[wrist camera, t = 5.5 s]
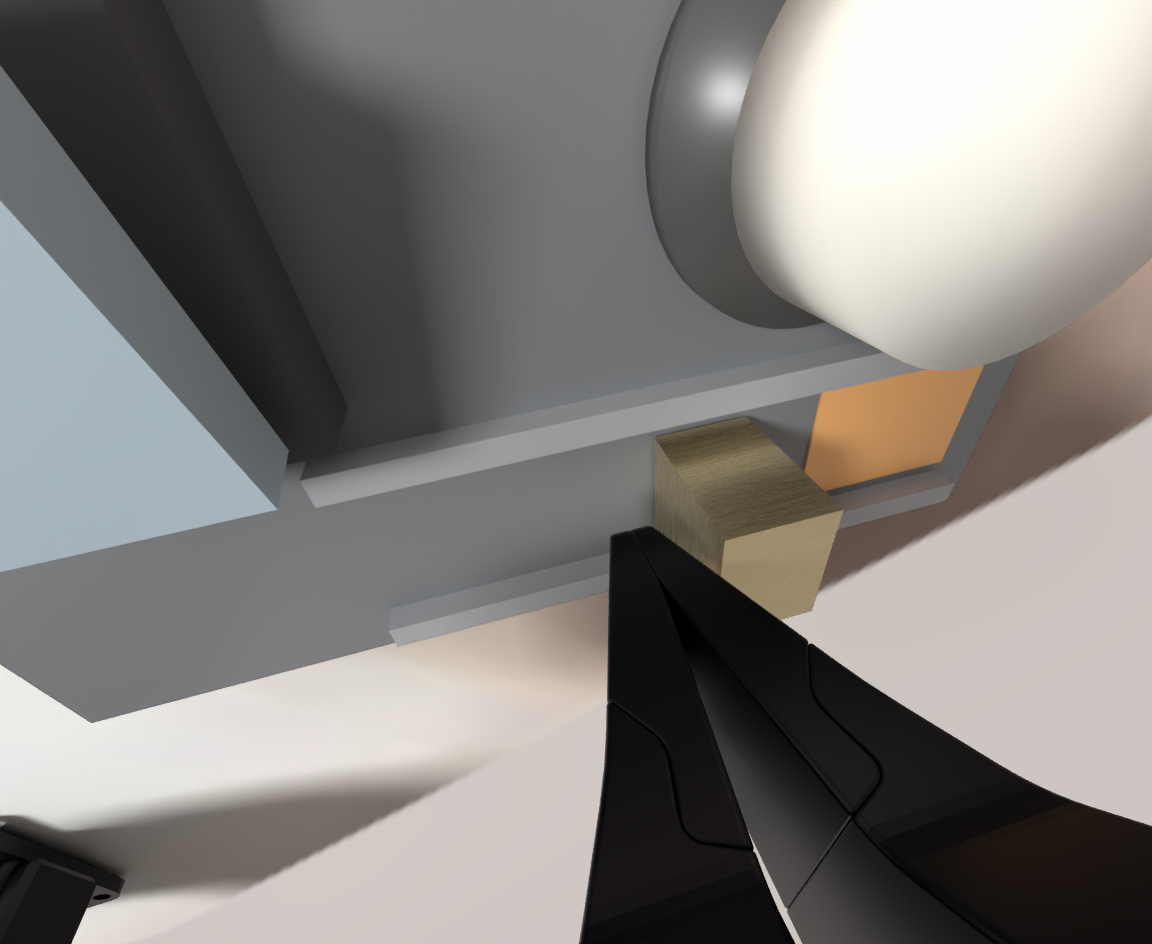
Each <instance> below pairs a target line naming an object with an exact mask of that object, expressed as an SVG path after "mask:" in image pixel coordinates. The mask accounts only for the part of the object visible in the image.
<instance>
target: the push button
mask: <svg viewBox="0 0 1152 944" xmlns="http://www.w3.org/2000/svg"><path fill="white" fill-rule="evenodd" d="M731 192H732V204H733V214H734V219H735V224H736V228H737V233H738V237H739V239H740V242H741V245H742V248H743V251H744V253H745V255H746V257H747V259H748V261H749V263H750V265H751V267H752V268H753V270H754V272H755V273H756V274H757V275H758V277H759V278H760V279H761V281H762V282H763V283H764V284H765V285H766V286H767V287H768V288H769V289H770V290H772V291H773V292H774V293H775V294H776V295H778V296H779V297H781V298H783V299H784V300H786V301H788V302H789V303H791V304H793V305H795V306H797V307H799V308H801V309H803V310H805V311H806V312H808V313H810V314H812V315H814V316H816V317H818V318H820V319H822V320H824V321H826V322H827V323H829V324H831V325H833V326H835V327H837V328H839V329H841V330H843V331H845V332H846V333H848V334H850V335H852V336H854V337H856V338H858V339H860V340H862V341H864V342H866V343H867V344H869V345H871V346H873V347H875V348H877V349H879V350H881V351H883V352H885V353H886V354H888V355H890V356H892V357H894V358H896V359H898V360H900V361H902V362H904V363H907V364H910V365H913V366H915V367H918V368H923V369H930V370H937V371H939V370H960V369H966V368H973V367H978V366H982V365H985V364H988V363H992V362H995V361H999V360H1001V359H1004V358H1006V357H1009V356H1011V355H1014V354H1016V353H1019V352H1021V351H1023V350H1025V349H1027V348H1029V347H1031V346H1033V345H1035V344H1037V343H1039V342H1041V341H1043V340H1045V339H1046V338H1048V337H1050V336H1051V335H1053V334H1055V333H1056V332H1058V331H1060V330H1061V329H1063V328H1065V327H1066V326H1068V325H1069V324H1071V323H1072V322H1074V321H1075V320H1077V319H1078V318H1079V317H1081V316H1082V315H1084V314H1085V313H1086V312H1088V311H1089V310H1091V309H1092V308H1094V307H1095V306H1096V305H1097V304H1099V303H1100V302H1101V301H1102V300H1104V299H1105V298H1106V297H1107V296H1109V295H1110V294H1111V293H1112V292H1114V291H1115V290H1116V289H1117V288H1119V287H1120V286H1121V285H1122V284H1123V283H1124V282H1125V281H1126V280H1127V279H1129V278H1130V277H1131V276H1132V275H1133V274H1134V273H1135V272H1136V271H1138V270H1139V269H1140V268H1141V267H1142V266H1143V265H1144V264H1145V263H1146V262H1147V261H1148V260H1149V259H1150V258H1151V257H1152V0H787V1H786V2H785V4H784V5H783V7H782V9H781V11H780V13H779V15H778V17H777V18H776V20H775V22H774V24H773V26H772V28H771V30H770V32H769V34H768V35H767V37H766V40H765V42H764V44H763V47H762V49H761V52H760V54H759V56H758V59H757V61H756V63H755V66H754V68H753V71H752V74H751V77H750V80H749V83H748V86H747V89H746V93H745V96H744V99H743V102H742V106H741V111H740V115H739V120H738V124H737V129H736V133H735V141H734V149H733V157H732V177H731Z"/></svg>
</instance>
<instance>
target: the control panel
mask: <svg viewBox="0 0 1152 944" xmlns="http://www.w3.org/2000/svg"><path fill="white" fill-rule="evenodd" d="M786 1H787V0H0V66H1V67H2V68H3V70H4V71H5V72H6V74H7V75H8V76H9V78H10V79H11V80H12V82H13V83H14V84H15V86H16V87H17V88H18V90H19V91H20V92H21V94H22V95H23V96H24V98H25V99H26V100H27V102H28V103H29V104H30V106H31V107H32V108H33V110H34V111H35V112H36V114H37V115H38V116H39V118H40V119H41V120H42V122H43V123H44V124H45V126H46V127H47V128H48V130H49V131H50V132H51V134H52V135H53V136H54V138H55V139H56V140H57V142H58V143H59V144H60V146H61V147H62V148H63V150H64V151H65V152H66V154H67V155H68V156H69V158H70V159H71V161H72V162H73V163H74V165H75V166H76V167H77V169H78V170H79V171H80V173H81V174H82V175H83V177H84V178H85V179H86V181H87V182H88V183H89V185H90V186H91V187H92V189H93V190H94V191H95V193H96V194H97V195H98V197H99V198H100V199H101V201H102V202H103V203H104V205H105V206H106V207H107V209H108V210H109V211H110V213H111V214H112V215H113V217H114V218H115V219H116V221H117V222H118V223H119V225H120V226H121V227H122V229H123V230H124V231H125V233H126V234H127V235H128V237H129V238H130V239H131V241H132V242H133V243H134V245H135V246H136V247H137V249H138V250H139V251H140V253H141V254H142V255H143V257H144V258H145V259H146V261H147V262H148V263H149V265H150V266H151V267H152V269H153V270H154V271H155V273H156V274H157V275H158V277H159V278H160V279H161V281H162V282H163V283H164V285H165V286H166V287H167V289H168V290H169V291H170V293H171V294H172V295H173V297H174V298H175V299H176V301H177V302H178V303H179V305H180V306H181V307H182V309H183V310H184V311H185V313H186V314H187V315H188V317H189V318H190V319H191V321H192V322H193V323H194V325H195V326H196V327H197V329H198V330H199V331H200V333H201V334H202V335H203V337H204V338H205V339H206V341H207V342H208V343H209V345H210V346H211V347H212V349H213V350H214V351H215V353H216V354H217V355H218V357H219V358H220V359H221V361H222V362H223V363H224V365H225V366H226V367H227V369H228V370H229V371H230V373H231V374H232V375H233V377H234V378H235V379H236V381H237V382H238V383H239V385H240V386H241V387H242V389H243V390H244V391H245V393H246V394H247V395H248V397H249V398H250V399H251V401H252V402H253V403H254V405H255V406H256V407H257V409H258V410H259V411H260V413H261V414H262V415H263V417H264V418H265V419H266V421H267V422H268V423H269V425H270V426H271V427H272V429H273V430H274V432H275V433H276V434H277V436H278V437H279V438H280V440H281V441H282V442H283V444H284V445H285V446H286V448H287V449H288V450H289V452H288V457H287V463H286V468H285V473H284V479H283V484H282V489H281V495H280V500H279V505H278V510H274V511H269V512H265V513H260V514H256V515H251V516H247V517H242V518H238V519H234V520H229V521H225V522H220V523H216V524H211V525H207V526H203V527H198V528H194V529H189V530H185V531H180V532H176V533H171V534H167V535H163V536H158V537H154V538H149V539H145V540H140V541H136V542H132V543H127V544H123V545H118V546H114V547H109V548H105V549H101V550H96V551H92V552H87V553H83V554H78V555H74V556H69V557H65V558H61V559H56V560H52V561H47V562H43V563H38V564H34V565H30V566H25V567H21V568H16V569H12V570H7V571H3V572H0V664H1V665H2V666H4V667H5V668H7V669H8V670H10V671H11V672H13V673H14V674H16V675H18V676H19V677H21V678H22V679H24V680H25V681H27V682H28V683H30V684H32V685H33V686H35V687H36V688H38V689H39V690H41V691H42V692H44V693H46V694H47V695H49V696H50V697H52V698H53V699H55V700H56V701H58V702H59V703H61V704H63V705H64V706H66V707H67V708H69V709H70V710H72V711H73V712H75V713H77V714H78V715H80V716H81V717H83V718H84V719H86V720H87V721H89V722H90V723H93V722H97V721H101V720H105V719H109V718H112V717H116V716H120V715H124V714H127V713H131V712H135V711H139V710H143V709H146V708H150V707H154V706H158V705H161V704H165V703H169V702H173V701H177V700H180V699H184V698H188V697H192V696H195V695H199V694H203V693H207V692H211V691H214V690H218V689H222V688H226V687H229V686H233V685H237V684H241V683H245V682H248V681H252V680H256V679H260V678H263V677H267V676H271V675H275V674H279V673H282V672H286V671H290V670H294V669H297V668H301V667H305V666H309V665H313V664H316V663H320V662H324V661H328V660H331V659H335V658H339V657H343V656H347V655H350V654H354V653H358V652H362V651H365V650H369V649H373V648H377V647H381V646H384V645H388V644H392V643H396V645H397V646H398V647H399V646H403V645H407V644H410V643H414V642H418V641H422V640H425V639H429V638H433V637H437V636H440V635H444V634H448V633H452V632H455V631H459V630H463V629H467V628H471V627H474V626H478V625H482V624H486V623H489V622H493V621H497V620H501V619H504V618H508V617H512V616H516V615H519V614H523V613H527V612H531V611H534V610H538V609H542V608H546V607H550V606H553V605H557V604H561V603H565V602H568V601H572V600H576V599H580V598H583V597H587V596H591V595H595V594H598V593H602V592H606V591H609V559H610V536H611V535H613V534H616V533H620V532H624V531H631V530H632V529H636V528H640V527H644V526H652V527H654V528H655V502H654V437H657V436H662V435H666V434H671V433H675V432H679V431H684V430H688V429H692V428H697V427H701V426H706V425H710V424H714V423H719V422H723V421H727V420H732V419H736V418H740V417H745V416H747V417H748V418H749V419H750V420H751V421H752V422H753V423H754V424H755V425H756V426H757V427H758V428H759V429H760V430H761V431H762V432H763V433H764V434H765V435H766V436H767V437H768V438H770V439H771V440H772V441H773V442H774V443H775V444H776V445H777V446H778V447H779V448H780V449H781V450H782V451H783V452H784V453H785V454H786V455H787V456H788V457H789V458H790V459H791V460H792V461H793V462H794V463H796V464H797V465H798V466H799V467H800V468H801V469H802V470H803V471H804V472H805V473H806V474H807V475H808V476H809V477H810V478H811V479H812V480H813V481H814V482H815V483H816V484H817V485H818V486H819V487H821V488H822V489H823V490H824V491H825V492H826V493H827V494H828V495H829V496H830V497H831V498H832V499H833V500H834V501H835V502H836V503H837V504H838V505H839V506H840V507H841V508H842V509H843V514H842V517H841V520H840V523H839V526H838V529H837V530H839V529H843V528H847V527H850V526H854V525H858V524H862V523H865V522H869V521H873V520H877V519H880V518H884V517H888V516H892V515H895V514H899V513H903V512H907V511H911V510H914V509H918V508H922V507H926V506H929V505H933V504H937V503H941V502H944V501H946V500H947V498H948V496H951V495H952V494H953V492H954V490H955V488H956V485H957V483H958V481H959V479H960V477H961V475H962V473H963V471H964V469H965V467H966V465H967V463H968V461H969V459H970V457H971V455H972V453H973V451H974V449H975V447H976V445H977V443H978V441H979V439H980V437H981V434H982V432H983V430H984V428H985V426H986V424H987V422H988V420H989V418H990V416H991V414H992V412H993V410H994V408H995V406H996V404H997V402H998V400H999V398H1000V396H1001V394H1002V392H1003V390H1004V388H1005V386H1006V384H1007V381H1008V379H1009V377H1010V375H1011V373H1012V371H1013V369H1014V367H1015V365H1016V363H1017V361H1018V359H1019V357H1020V355H1021V353H1022V351H1021V352H1019V353H1016V354H1014V355H1011V356H1009V357H1006V358H1004V359H1001V360H999V361H995V362H992V363H988V364H985V365H982V366H978V367H973V368H966V369H960V370H939V371H937V370H930V369H923V368H918V367H915V366H913V365H910V364H907V363H904V362H902V361H900V360H898V359H896V358H894V357H892V356H890V355H888V354H886V353H885V352H883V351H881V350H879V349H877V348H875V347H873V346H871V345H869V344H867V343H866V342H864V341H862V340H860V339H858V338H856V337H854V336H852V335H850V334H848V333H846V332H845V331H843V330H841V329H839V328H837V327H835V326H833V325H831V324H829V323H827V322H826V321H824V320H822V319H820V318H818V317H816V316H814V315H812V314H810V313H808V312H806V311H805V310H803V309H801V308H799V307H797V306H795V305H793V304H791V303H789V302H788V301H786V300H784V299H783V298H781V297H779V296H778V295H776V294H775V293H774V292H773V291H772V290H770V289H769V288H768V287H767V286H766V285H765V284H764V283H763V282H762V281H761V279H760V278H759V277H758V275H757V274H756V273H755V272H754V270H753V268H752V267H751V265H750V263H749V261H748V259H747V257H746V255H745V253H744V251H743V248H742V245H741V242H740V239H739V237H738V233H737V228H736V224H735V219H734V214H733V204H732V192H731V177H732V157H733V149H734V141H735V133H736V129H737V124H738V120H739V115H740V111H741V106H742V102H743V99H744V96H745V93H746V89H747V86H748V83H749V80H750V77H751V74H752V71H753V68H754V66H755V63H756V61H757V59H758V56H759V54H760V52H761V49H762V47H763V44H764V42H765V40H766V37H767V35H768V34H769V32H770V30H771V28H772V26H773V24H774V22H775V20H776V18H777V17H778V15H779V13H780V11H781V9H782V7H783V5H784V4H785V2H786Z"/></svg>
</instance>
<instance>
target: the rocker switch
mask: <svg viewBox="0 0 1152 944" xmlns="http://www.w3.org/2000/svg"><path fill="white" fill-rule="evenodd" d="M288 452H289V450H288V449H287V448H286V446H285V445H284V444H283V442H282V441H281V440H280V438H279V437H278V436H277V434H276V433H275V432H274V430H273V429H272V427H271V426H270V425H269V423H268V422H267V421H266V419H265V418H264V417H263V415H262V414H261V413H260V411H259V410H258V409H257V407H256V406H255V405H254V403H253V402H252V401H251V399H250V398H249V397H248V395H247V394H246V393H245V391H244V390H243V389H242V387H241V386H240V385H239V383H238V382H237V381H236V379H235V378H234V377H233V375H232V374H231V373H230V371H229V370H228V369H227V367H226V366H225V365H224V363H223V362H222V361H221V359H220V358H219V357H218V355H217V354H216V353H215V351H214V350H213V349H212V347H211V346H210V345H209V343H208V342H207V341H206V339H205V338H204V337H203V335H202V334H201V333H200V331H199V330H198V329H197V327H196V326H195V325H194V323H193V322H192V321H191V319H190V318H189V317H188V315H187V314H186V313H185V311H184V310H183V309H182V307H181V306H180V305H179V303H178V302H177V301H176V299H175V298H174V297H173V295H172V294H171V293H170V291H169V290H168V289H167V287H166V286H165V285H164V283H163V282H162V281H161V279H160V278H159V277H158V275H157V274H156V273H155V271H154V270H153V269H152V267H151V266H150V265H149V263H148V262H147V261H146V259H145V258H144V257H143V255H142V254H141V253H140V251H139V250H138V249H137V247H136V246H135V245H134V243H133V242H132V241H131V239H130V238H129V237H128V235H127V234H126V233H125V231H124V230H123V229H122V227H121V226H120V225H119V223H118V222H117V221H116V219H115V218H114V217H113V215H112V214H111V213H110V211H109V210H108V209H107V207H106V206H105V205H104V203H103V202H102V201H101V199H100V198H99V197H98V195H97V194H96V193H95V191H94V190H93V189H92V187H91V186H90V185H89V183H88V182H87V181H86V179H85V178H84V177H83V175H82V174H81V173H80V171H79V170H78V169H77V167H76V166H75V165H74V163H73V162H72V161H71V159H70V158H69V156H68V155H67V154H66V152H65V151H64V150H63V148H62V147H61V146H60V144H59V143H58V142H57V140H56V139H55V138H54V136H53V135H52V134H51V132H50V131H49V130H48V128H47V127H46V126H45V124H44V123H43V122H42V120H41V119H40V118H39V116H38V115H37V114H36V112H35V111H34V110H33V108H32V107H31V106H30V104H29V103H28V102H27V100H26V99H25V98H24V96H23V95H22V94H21V92H20V91H19V90H18V88H17V87H16V86H15V84H14V83H13V82H12V80H11V79H10V78H9V76H8V75H7V74H6V72H5V71H4V70H3V68H2V67H1V66H0V572H3V571H7V570H12V569H16V568H21V567H25V566H30V565H34V564H38V563H43V562H47V561H52V560H56V559H61V558H65V557H69V556H74V555H78V554H83V553H87V552H92V551H96V550H101V549H105V548H109V547H114V546H118V545H123V544H127V543H132V542H136V541H140V540H145V539H149V538H154V537H158V536H163V535H167V534H171V533H176V532H180V531H185V530H189V529H194V528H198V527H203V526H207V525H211V524H216V523H220V522H225V521H229V520H234V519H238V518H242V517H247V516H251V515H256V514H260V513H265V512H269V511H274V510H278V505H279V500H280V495H281V489H282V484H283V479H284V473H285V468H286V463H287V457H288Z"/></svg>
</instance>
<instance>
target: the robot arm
mask: <svg viewBox="0 0 1152 944" xmlns="http://www.w3.org/2000/svg"><path fill="white" fill-rule="evenodd" d="M607 703H608V704H607V715H606V716H607V717H606V743H605V763H604V772H603V782H602V790H601V798H600V806H599V814H598V820H597V827H596V834H595V841H594V848H593V854H592V861H591V868H590V876H589V883H588V889H587V895H586V902H585V910H584V916H583V923H582V929H581V935H580V942H579V944H795V942H794V940H793V938H792V936H791V934H790V932H789V930H788V928H787V926H786V924H785V923H784V920H783V918H782V916H781V915H780V913H779V910H778V909H777V906H776V904H775V901H774V899H773V897H772V894H771V892H770V889H769V887H768V885H767V882H766V880H765V877H764V875H763V872H762V869H761V867H760V864H759V861H758V858H757V856H756V854H755V853H754V852H753V849H754V848H753V844H752V841H751V838H750V835H751V837H752V840H753V842H754V844H755V846H756V848H757V850H758V852H759V854H760V856H761V858H762V860H763V862H764V864H765V867H766V869H767V871H768V873H769V875H770V877H771V879H772V881H773V883H774V885H775V887H776V889H777V891H778V893H779V896H780V898H781V900H782V902H783V904H784V906H785V907H786V908H788V910H787V912H788V915H789V917H790V919H791V921H792V923H793V925H794V927H795V929H796V931H797V933H798V935H799V937H800V939H801V942H802V944H1152V826H1150V825H1147V824H1144V823H1140V822H1137V821H1134V820H1131V819H1128V818H1125V817H1122V816H1119V815H1115V814H1112V813H1109V812H1106V811H1103V810H1100V809H1097V808H1093V807H1090V806H1087V805H1084V804H1081V803H1078V802H1075V801H1073V800H1070V799H1068V798H1065V797H1063V796H1060V795H1057V794H1055V793H1053V792H1051V791H1049V790H1047V789H1044V788H1042V787H1040V786H1038V785H1036V784H1034V783H1032V782H1030V781H1028V780H1026V779H1024V778H1022V777H1020V776H1018V775H1016V774H1015V773H1013V772H1011V771H1009V770H1008V769H1006V768H1004V767H1002V766H1001V765H999V764H997V763H996V762H994V761H993V760H991V759H989V758H988V757H986V756H984V755H983V754H981V753H979V752H978V751H976V750H975V749H973V748H971V747H970V746H968V745H967V744H965V743H963V742H962V741H960V740H958V739H957V738H955V737H953V736H952V735H950V734H949V733H947V732H945V731H944V730H942V729H940V728H939V727H937V726H935V725H934V724H932V723H931V722H929V721H927V720H925V719H924V718H922V717H921V716H919V715H918V714H916V713H914V712H913V711H911V710H909V709H908V708H906V707H905V706H903V705H901V704H900V703H898V702H897V701H895V700H893V699H892V698H890V697H888V696H887V695H886V694H884V693H882V692H881V691H879V690H878V689H876V688H875V687H873V686H871V685H870V684H868V683H867V682H865V681H864V680H863V679H861V678H860V677H858V676H857V675H855V674H854V673H853V672H851V671H850V670H848V669H847V668H845V667H844V666H843V665H841V664H840V663H838V662H837V661H835V660H834V659H833V658H831V657H830V656H829V655H827V654H826V653H824V652H823V651H822V650H820V649H819V648H818V647H816V646H815V645H814V644H809V645H808V641H807V639H805V638H804V637H802V636H801V635H799V634H798V633H797V632H796V631H794V630H793V629H792V628H790V627H789V626H787V625H786V624H785V623H783V622H782V621H781V620H779V619H778V618H777V617H775V616H774V615H773V614H771V613H770V612H768V611H767V610H766V609H764V608H763V607H762V606H760V605H759V604H758V603H756V602H755V601H753V600H752V599H751V598H749V597H748V596H747V595H745V594H744V593H743V592H741V591H740V590H738V589H737V588H736V587H734V586H733V585H732V584H730V583H729V582H728V581H726V580H725V579H724V578H722V577H721V576H719V575H718V574H717V573H715V572H714V571H713V570H711V569H710V568H709V567H707V566H706V565H704V564H703V563H702V562H700V561H699V560H698V559H696V558H695V557H694V556H692V555H691V554H690V553H688V552H687V551H685V550H684V549H683V548H681V547H680V546H679V545H677V544H676V543H675V542H673V541H672V540H670V539H669V538H668V537H666V536H665V535H664V534H662V533H661V532H660V531H658V530H657V529H655V528H654V527H652V526H644V527H640V528H636V529H632V530H631V531H624V532H620V533H616V534H613V535H611V536H610V559H609V616H608V673H607ZM747 829H748V830H747ZM748 831H749V833H750V835H749V833H748ZM124 884H125V880H124V879H122V878H120V877H117V876H115V875H112V874H110V873H107V872H104V871H102V870H99V869H97V868H94V867H92V866H89V865H87V864H84V863H82V862H79V861H76V860H74V859H71V858H69V857H66V856H64V855H61V854H59V853H56V852H53V851H51V850H48V849H46V848H43V847H41V846H38V845H36V844H33V843H31V842H28V841H25V840H23V839H20V838H18V837H15V836H13V835H10V834H8V833H5V832H3V831H0V944H71V943H72V941H73V938H74V936H75V934H76V931H77V929H78V927H79V925H80V922H81V920H82V918H83V915H84V913H85V911H86V909H87V908H89V907H92V906H95V905H99V904H102V903H105V902H108V901H112V900H114V899H117V898H118V897H119V896H120V893H121V891H122V889H123V886H124Z"/></svg>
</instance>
